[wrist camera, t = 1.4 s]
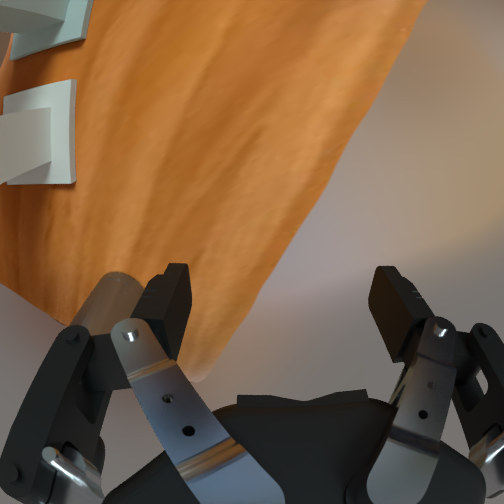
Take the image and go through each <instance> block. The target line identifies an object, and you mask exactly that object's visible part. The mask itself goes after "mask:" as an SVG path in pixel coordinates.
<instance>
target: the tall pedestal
mask: <svg viewBox="0 0 504 504" xmlns="http://www.w3.org/2000/svg"><path fill="white" fill-rule="evenodd" d="M76 86H77V80H75V79H71V80H65V81H61V82H56V83H52V84H47V85H43V86H39V87H35V88H32V89H28V90H24V91H21V92H18V93H14V94H11V95H8V96H5V97H4V105H3V115H0V184H2V183H4V182H6V181H7V185H17V184H72V183H73V182H75V181H76V167H75V101H76Z"/></svg>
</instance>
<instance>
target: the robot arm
mask: <svg viewBox="0 0 504 504" xmlns="http://www.w3.org/2000/svg"><path fill="white" fill-rule="evenodd" d="M368 304H369V309H370V311H371V314H372V316H373V318H374V320H375V322H376V325H377V327H378V329H379V331H380V333H381V335H382V338H383V340H384V343H385V345H386V347H387V350H388V352H389V354H390V357H391V359H392V362H393V363H398V362H404V363H405V366H404V368H403V369H402V371H401V374H400V376H399V379H398V381H397V384H396V386H395V388H394V391H393V393H392V395H391V398H390V400H389V402H388V403H386V402H384V401H381V400H378V399H373V398H368V395H367V391H366V389H362V390H353V391H343V392H335V393H333V394H329V395H326V396H323V397H320V398H316V399H313V400H309V401H299V400H293V399H287V398H281V397H277V396H272V395H237V404H233V405H229V406H225V407H222V408H220V409H217V410H215V411H213V412H211V411H210V409H209V408H208V407H207V406H206V404H205V403H204V402H203V400H202V399H201V397H200V396H199V395H198V393H197V392H196V391H195V389H194V388H193V386H192V385H191V383H190V382H189V381H188V379H187V378H186V376H185V375H184V373H183V372H182V370H181V369H180V367H179V366H178V365H177V363H176V361H177V357H178V354H179V350H180V346H181V343H182V339H183V335H184V332H185V328H186V325H187V321H188V318H189V314H190V311H191V307H192V292H191V284H190V276H189V268H188V265H187V264H186V263H169V264H168V266H167V268H166V270H165V272H164V274H163V275H159V274H157V275H156V276H155V277H153V278H152V279H151V280H150V281H149V282H148V284H147V286H146V287H145V290H144V289H143V287H142V286H141V285H140V284H139V282H137V281H136V280H135V279H134V278H132V277H130V276H129V275H126V274H124V273H119V272H111V273H108V274H106V275H104V276H103V277H102V278H101V279H100V281H99V282H98V284H97V285H96V286H95V288H94V289H93V291H92V292H91V293H90V295H89V296H88V298H87V299H86V301H85V302H84V304H83V305H82V307H81V308H80V310H79V311H78V313H77V314H76V316H75V317H74V319H73V320H72V322H71V324H70V325H69V327H67V328H65V329H64V330H62V331H61V332H60V333H59V334H58V336H57V337H56V339H55V341H54V343H53V344H52V346H51V348H50V350H49V351H48V353H47V355H46V357H45V359H44V361H43V363H42V364H41V366H40V368H39V370H38V372H37V374H36V376H35V378H34V380H33V382H32V384H31V386H30V388H29V390H28V392H27V394H26V396H25V398H24V400H23V403H22V405H21V407H20V409H19V412H18V414H17V416H16V418H15V420H14V422H13V424H12V426H11V429H10V432H9V435H8V438H7V441H6V444H5V446H4V449H3V452H2V455H1V458H0V487H1V488H2V490H3V491H4V492H5V493H6V494H7V495H9V496H11V497H12V498H14V499H16V500H18V501H20V502H22V503H23V504H484V502H485V498H494V497H496V496H498V495H500V494H501V493H503V492H504V344H503V342H502V341H501V339H500V337H499V336H498V334H497V333H496V331H495V330H494V329H493V328H492V327H490V326H489V325H486V324H483V323H476V324H475V325H474V326H473V327H472V329H471V331H470V333H467V332H459V331H456V328H455V326H454V325H453V324H452V323H451V322H450V321H449V320H447V319H445V318H443V317H439V316H435V315H434V314H433V312H432V311H431V309H430V308H429V306H428V305H427V303H426V302H425V300H424V299H423V298H422V296H421V295H420V293H419V292H418V290H417V289H416V287H415V286H414V285H413V283H411V282H410V281H409V280H407V279H406V278H405V277H402V276H401V274H400V273H399V272H398V270H397V269H396V267H394V266H378V267H377V268H376V270H375V274H374V278H373V282H372V286H371V289H370V293H369V298H368ZM480 370H482V372H483V373H484V375H485V377H486V379H487V382H488V390H487V393H486V394H485V395H484V393H483V391H482V389H481V387H480V385H479V383H478V380H477V379H476V375H477V374H478V373H479V371H480ZM127 388H132V389H133V391H134V393H135V396H136V397H137V400H138V402H139V404H140V405H141V408H142V410H143V412H144V414H145V415H146V417H147V419H148V421H149V423H150V425H151V427H152V428H153V430H154V432H155V434H156V436H157V437H158V439H159V441H160V443H161V444H162V446H163V448H164V449H165V450H164V451H163V452H162V453H161V454H159V455H158V456H157V457H156V458H154V459H153V460H152V461H151V462H149V463H148V464H147V465H146V466H144V467H143V468H142V469H140V470H139V471H138V472H136V473H135V474H134V475H132V476H131V477H130V478H128V479H127V480H126V481H124V482H123V483H122V484H120V485H119V486H118V487H117V488H115V489H113V490H112V491H111V492H110V493H109V494H108V495H107V496H106V497H104V495H103V493H102V489H101V474H102V470H103V465H104V460H105V445H104V442H103V440H102V438H101V437H100V436H99V435H100V431H101V427H102V424H103V421H104V417H105V414H106V410H107V407H108V404H109V400H110V397H111V394H112V391H113V390H117V389H127ZM451 398H452V400H453V403H454V406H455V408H456V411H457V414H458V417H459V419H460V422H461V425H462V428H463V431H464V434H465V437H466V440H467V443H468V447H469V450H470V452H469V457H468V458H469V459H467V458H466V457H464V456H463V455H461V454H460V453H458V452H457V451H456V450H454V449H453V448H451V447H450V446H449V445H447V444H446V443H444V442H443V441H441V440H440V439H441V436H442V433H443V429H444V425H445V422H446V418H447V414H448V410H449V406H450V401H451Z"/></svg>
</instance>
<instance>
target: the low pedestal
mask: <svg viewBox="0 0 504 504" xmlns="http://www.w3.org/2000/svg"><path fill="white" fill-rule="evenodd" d="M93 1H94V0H0V32H9V33H14V37H13V43H12V48H11V55H10V60H17V59H20V58H23V57H25V56H28V55H31V54H34V53H36V52H39V51H43V50H46V49H49V48H52V47H55V46H59V45H62V44H66V43H70V42H74V41H78V40H82V39H86V35H87V30H88V24H89V19H90V14H91V10H92V5H93Z"/></svg>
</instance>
